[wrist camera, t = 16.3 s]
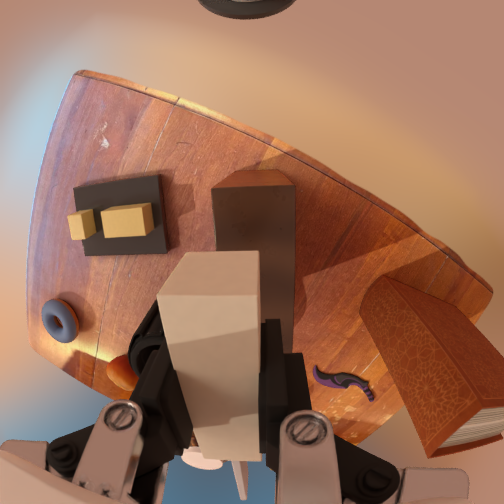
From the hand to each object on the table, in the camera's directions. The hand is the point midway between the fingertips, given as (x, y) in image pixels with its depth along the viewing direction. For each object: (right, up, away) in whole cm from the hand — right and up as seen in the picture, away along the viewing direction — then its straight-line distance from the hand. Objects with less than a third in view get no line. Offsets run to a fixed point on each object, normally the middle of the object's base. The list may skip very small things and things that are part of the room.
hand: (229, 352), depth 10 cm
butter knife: (0, -4, +2) cm, 4 cm away
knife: (+21, -24, +42) cm, 53 cm away
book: (+31, -7, +36) cm, 48 cm away
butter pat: (-26, +9, +30) cm, 41 cm away
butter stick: (-17, +9, +29) cm, 35 cm away
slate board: (-20, +9, +31) cm, 38 cm away
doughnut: (-39, -10, +39) cm, 56 cm away
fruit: (-25, -20, +42) cm, 53 cm away
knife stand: (+2, +7, +31) cm, 32 cm away
